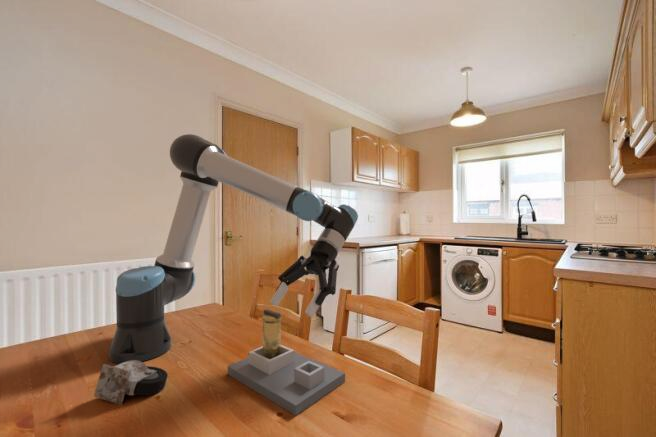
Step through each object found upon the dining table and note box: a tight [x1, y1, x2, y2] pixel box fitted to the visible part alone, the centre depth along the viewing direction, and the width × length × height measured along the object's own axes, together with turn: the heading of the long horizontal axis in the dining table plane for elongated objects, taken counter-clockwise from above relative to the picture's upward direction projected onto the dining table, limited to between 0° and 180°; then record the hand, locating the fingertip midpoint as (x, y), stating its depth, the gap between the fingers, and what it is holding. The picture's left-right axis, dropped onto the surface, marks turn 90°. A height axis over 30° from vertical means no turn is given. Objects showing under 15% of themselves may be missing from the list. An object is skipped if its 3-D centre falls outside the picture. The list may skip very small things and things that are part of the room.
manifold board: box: [227, 344, 346, 416], centre depth 73 cm, size 24×16×5 cm, turn 50°
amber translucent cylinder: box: [261, 309, 283, 359], centre depth 76 cm, size 5×5×13 cm
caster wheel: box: [93, 360, 169, 406], centre depth 68 cm, size 7×11×10 cm
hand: (289, 309), depth 80 cm, fingers open, 13 cm apart
